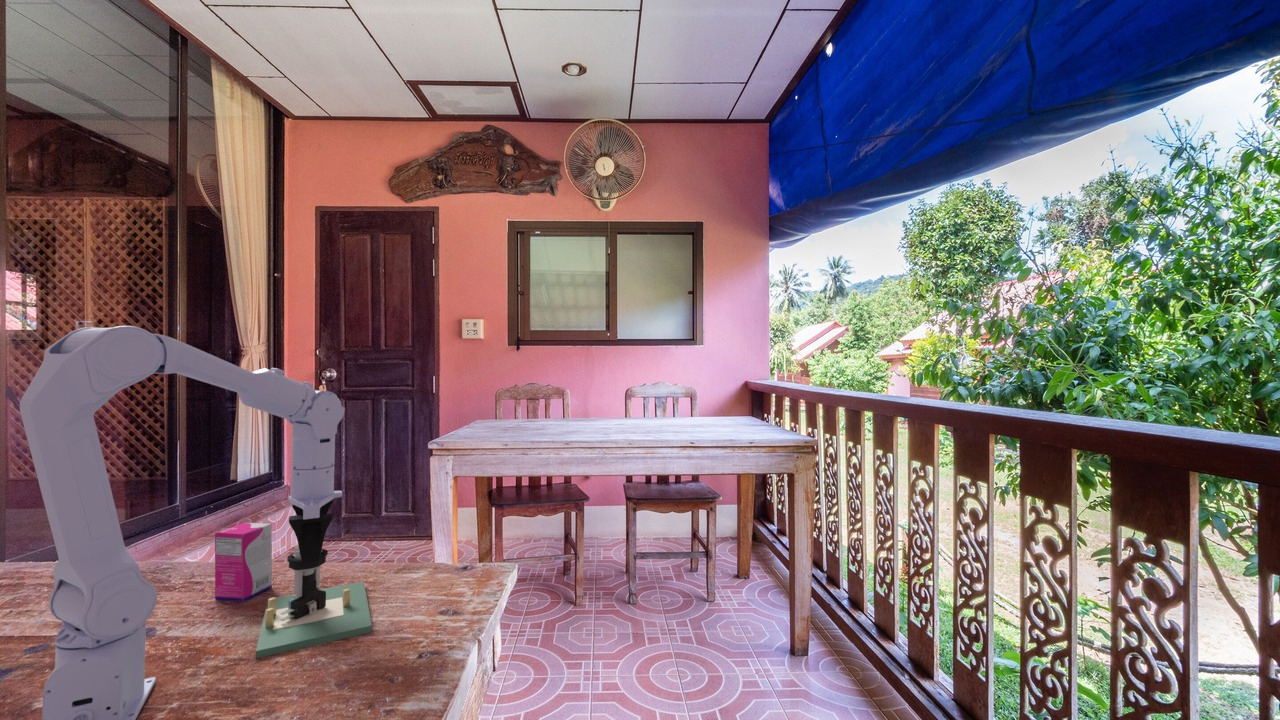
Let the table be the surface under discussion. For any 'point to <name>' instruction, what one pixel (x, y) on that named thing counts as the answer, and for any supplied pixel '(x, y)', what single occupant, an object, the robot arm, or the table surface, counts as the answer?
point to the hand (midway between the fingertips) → (311, 553)
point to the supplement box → (243, 561)
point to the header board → (315, 621)
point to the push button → (305, 586)
